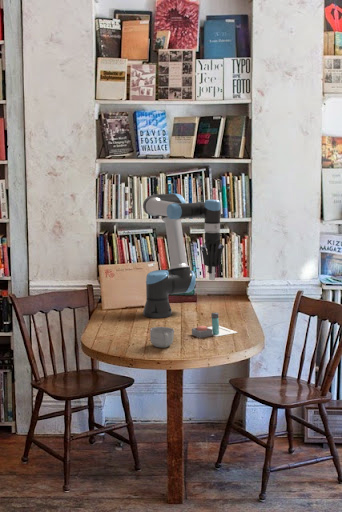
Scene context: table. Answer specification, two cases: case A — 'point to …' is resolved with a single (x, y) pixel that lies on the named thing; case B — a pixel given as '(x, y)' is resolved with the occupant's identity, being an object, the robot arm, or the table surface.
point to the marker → (215, 323)
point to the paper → (223, 331)
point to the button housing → (201, 333)
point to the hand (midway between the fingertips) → (211, 279)
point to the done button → (201, 328)
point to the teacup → (161, 336)
